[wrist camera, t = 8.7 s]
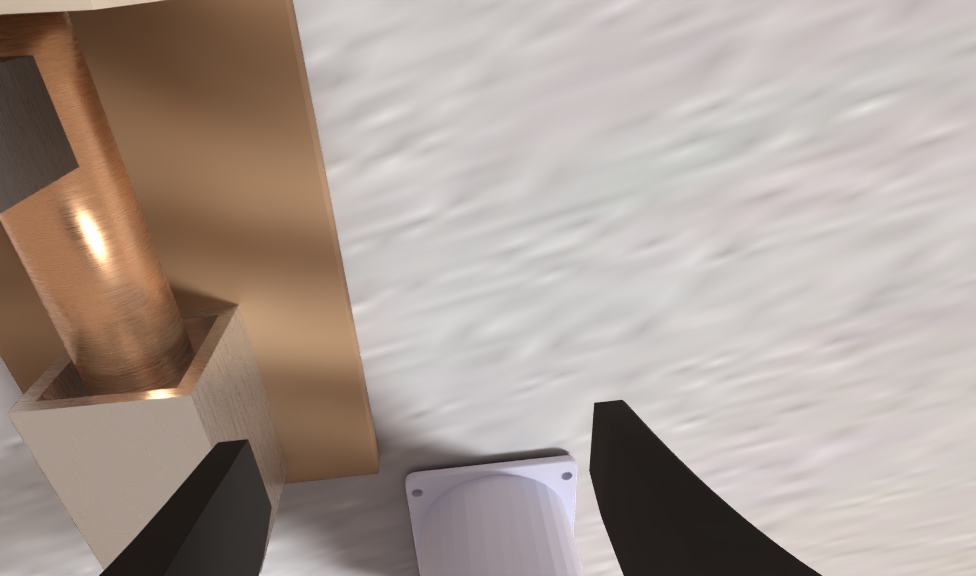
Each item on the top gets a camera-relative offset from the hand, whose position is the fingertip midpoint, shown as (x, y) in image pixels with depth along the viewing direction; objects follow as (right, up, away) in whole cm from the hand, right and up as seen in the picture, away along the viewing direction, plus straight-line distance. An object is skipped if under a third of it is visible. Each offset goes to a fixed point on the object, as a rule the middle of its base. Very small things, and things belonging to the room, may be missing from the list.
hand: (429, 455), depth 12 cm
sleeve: (-10, 0, +10) cm, 14 cm away
